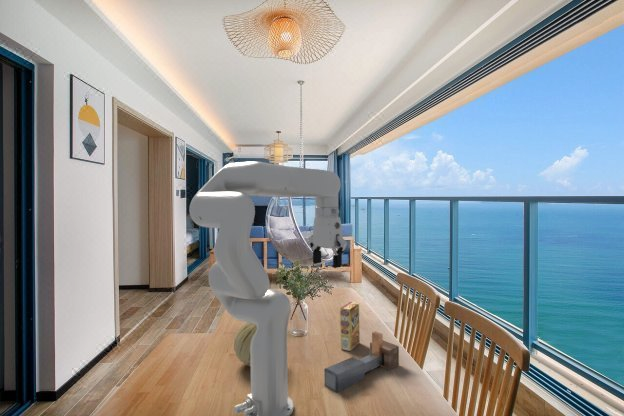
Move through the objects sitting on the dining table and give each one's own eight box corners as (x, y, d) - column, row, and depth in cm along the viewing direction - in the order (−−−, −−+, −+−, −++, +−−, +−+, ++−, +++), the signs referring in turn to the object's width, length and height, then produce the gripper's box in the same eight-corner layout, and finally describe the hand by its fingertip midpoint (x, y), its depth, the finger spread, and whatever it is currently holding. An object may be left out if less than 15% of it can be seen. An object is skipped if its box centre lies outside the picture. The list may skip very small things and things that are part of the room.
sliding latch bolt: (355, 377, 109) (355, 344, 109) (348, 373, 111) (348, 341, 111) (388, 361, 119) (388, 331, 119) (381, 358, 122) (381, 329, 121)
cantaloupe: (231, 358, 124) (230, 315, 124) (273, 352, 130) (272, 310, 129) (238, 379, 110) (237, 330, 110) (284, 370, 116) (284, 324, 115)
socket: (389, 369, 116) (389, 350, 115) (369, 361, 122) (369, 342, 122) (398, 365, 119) (398, 346, 119) (379, 356, 125) (379, 339, 125)
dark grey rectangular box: (336, 392, 103) (336, 375, 102) (324, 385, 106) (324, 368, 106) (364, 378, 110) (364, 362, 110) (352, 372, 114) (352, 356, 114)
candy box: (350, 351, 129) (350, 309, 129) (339, 349, 131) (339, 307, 131) (360, 342, 137) (359, 302, 137) (349, 340, 139) (349, 301, 139)
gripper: (354, 213, 113) (354, 267, 113) (317, 211, 126) (318, 260, 127) (337, 214, 108) (337, 270, 109) (301, 212, 121) (301, 262, 122)
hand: (327, 265), depth 118 cm, fingers open, 9 cm apart
